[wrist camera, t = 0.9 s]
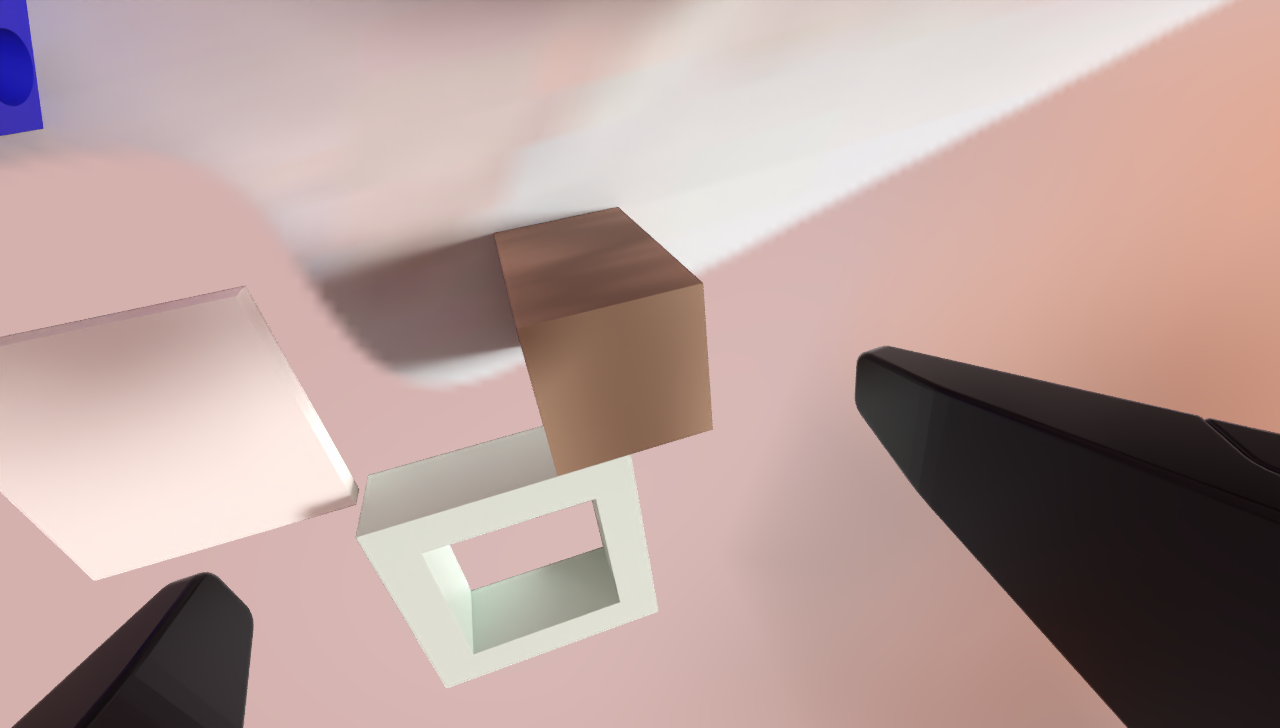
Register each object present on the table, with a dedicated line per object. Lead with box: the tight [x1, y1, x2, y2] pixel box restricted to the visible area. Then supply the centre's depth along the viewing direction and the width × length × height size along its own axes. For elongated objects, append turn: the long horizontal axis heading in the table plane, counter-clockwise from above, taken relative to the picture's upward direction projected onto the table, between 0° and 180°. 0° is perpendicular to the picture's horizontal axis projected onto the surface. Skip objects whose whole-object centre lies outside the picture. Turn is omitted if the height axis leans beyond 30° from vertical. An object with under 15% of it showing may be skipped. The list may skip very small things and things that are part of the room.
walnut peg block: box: [494, 207, 713, 476], centre depth 15 cm, size 4×4×7 cm
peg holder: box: [356, 426, 658, 688], centre depth 21 cm, size 9×9×3 cm
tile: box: [0, 286, 359, 581], centre depth 16 cm, size 8×8×1 cm
